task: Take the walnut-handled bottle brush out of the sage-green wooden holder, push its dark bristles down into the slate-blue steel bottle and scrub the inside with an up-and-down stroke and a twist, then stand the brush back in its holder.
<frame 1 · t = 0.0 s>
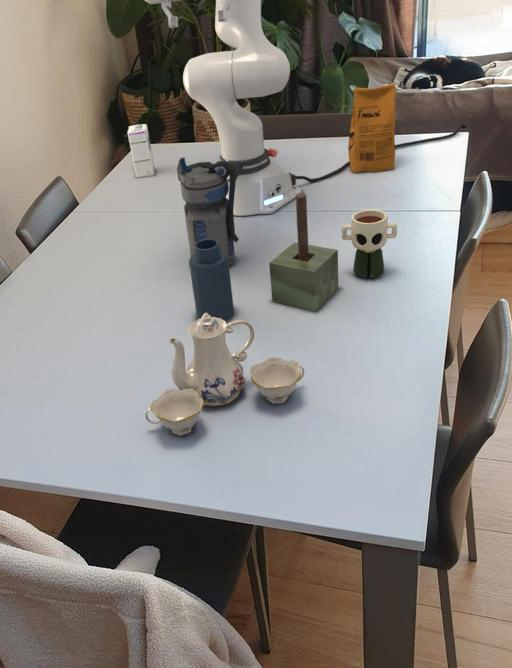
hand: (198, 24, 132), 52 cm above the table, tool tilted 20°, fingers open, 8 cm apart
chinaware: (222, 402, 123), on the table
syrup box: (145, 174, 223), on the table
coffee package: (371, 167, 200), on the table
steel bottle: (215, 314, 147), on the table
character mug: (368, 273, 152), on the table
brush: (303, 247, 142), in the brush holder
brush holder: (305, 295, 148), on the table
beverage bottle: (217, 264, 166), on the table
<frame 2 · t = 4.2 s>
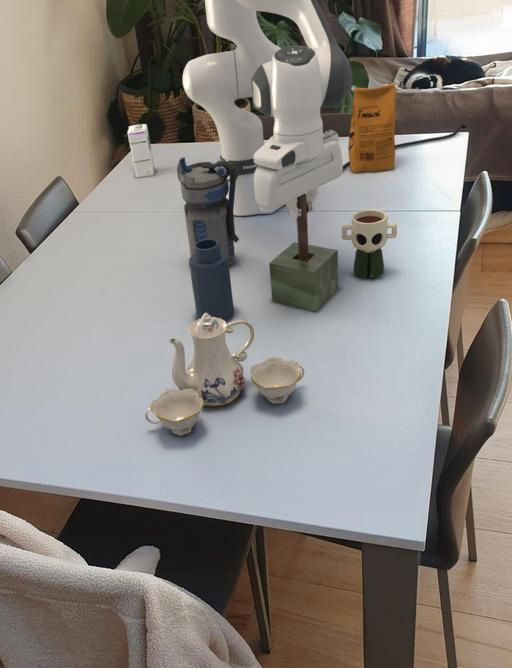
hand: (301, 214, 138), 18 cm above the table, tool pointing down, fingers closed on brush, 2 cm apart
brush: (303, 247, 142), in the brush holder, touching gripper
everything else where it was.
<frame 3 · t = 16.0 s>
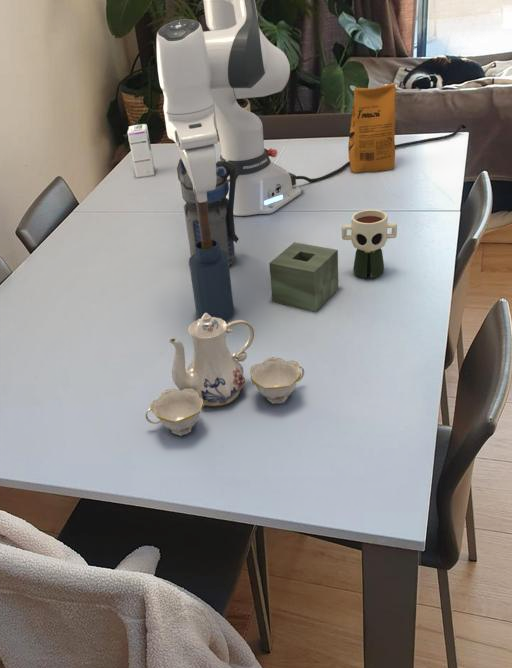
hand: (200, 197, 133), 26 cm above the table, tool pointing down, fingers closed on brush, 2 cm apart
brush: (205, 232, 137), point 18 cm above the table, touching gripper
everything else where it was.
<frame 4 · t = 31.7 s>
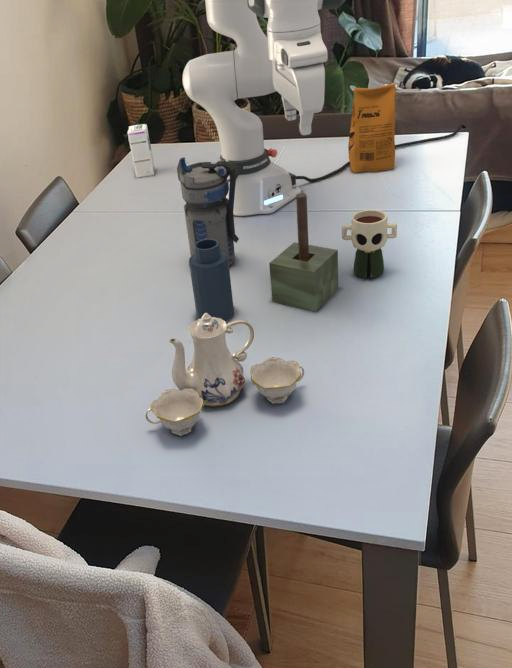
hand: (297, 126, 128), 35 cm above the table, tool pointing down, fingers open, 8 cm apart
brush: (303, 247, 142), in the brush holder
everything else where it was.
at the end: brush 0.1 cm off-centre in the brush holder, point 11.0 cm above the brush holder's base; steel bottle tilted 0°; steel bottle moved 0.0 cm from its start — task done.
